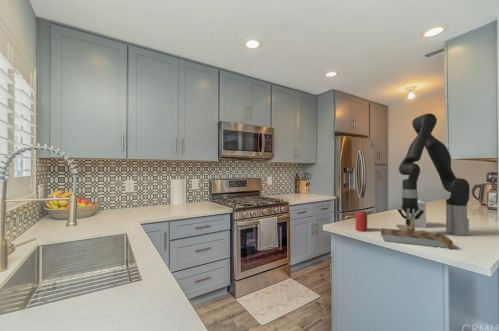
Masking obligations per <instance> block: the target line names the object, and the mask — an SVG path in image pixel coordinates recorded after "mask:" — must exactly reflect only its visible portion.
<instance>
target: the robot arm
mask: <svg viewBox="0 0 499 331" xmlns="http://www.w3.org/2000/svg"><path fill="white" fill-rule="evenodd" d="M437 122H438V118H437V117H436V115H435V114H433V113H425V114H422V115H420V116H417V117H416V118H414V119H413V120H412V123H411V124H412V128H413V130H414V131H415V132H416V134H417V135H416V137H415V138H414V139H413V141H412V142H411V144H410V145H409V147H408V150H407V153H406V155H405V157H404V158H403V159H402V161H401V163H400V164H399V167H398V171H399V173H400V175H404V176H408V178H406V179H405V178H404V179H403V180H402V181H401V182H402V185H401V187H402V191H401V196H402V197H401V200H402V201H401V203H402V204H401V207H400V208H397V209H396V210H397V212H398V213H399V214H400V216H401V217H402V218H403V219H404V218H405V219H406V224H407V225H408V226H409V214H411V216H412V217H413V218H414V219H419V217H420V216H421V215H422V213H423V212H424V211H423V210H420V209H419V207H418V200H419V199H418V197H419V196H418V195H419V194H418V190H417V189H418V180H419V176H420V173H421V168H420V165H419V164H418V163H416V162H419V161H420V160H421V157H422V154H423V152H424V149H426V151H427V154H428V156H429V158H430V160H431V161H432V163H433V166H434V167H435V170H436V172H437V173H438V175H439V180H440V181H441V184H442V187H443V189H444V190H445V191H446V192H448V193H450V197H449V198H447V199H446V200H445V223H446V224H445V229H446V230H445V231H446V233H448V234H450V235H454V236H455V235H456V236H470V219H469V218H468V202H469V201H470V192H471V191H470V188H471V187H470V183H469V182H468V180H466V179H465V178H460V177H459V178H458V177H456V175H455V173H454V172H453V170H452V156H451V153H450V151H449V150H448V147H447V146H446V145H445V144H444V143H443V142H442V141H440V140H439V139H437V138H436V137H435V136H434V135H433V134H432V132H433V130H434V128H435V127H436V125H437ZM417 211H418V213H417V215H416V216H415V213H416V212H417ZM404 212H405V214H406V216H404ZM406 224H405V225H406Z"/></svg>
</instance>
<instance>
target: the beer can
mask: <svg viewBox="0 0 499 331" xmlns="http://www.w3.org/2000/svg"><path fill="white" fill-rule="evenodd" d="M355 230H356V231H359V232H367V231H368V214H367V211H366V210H359V209H358V210H356V212H355Z"/></svg>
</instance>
